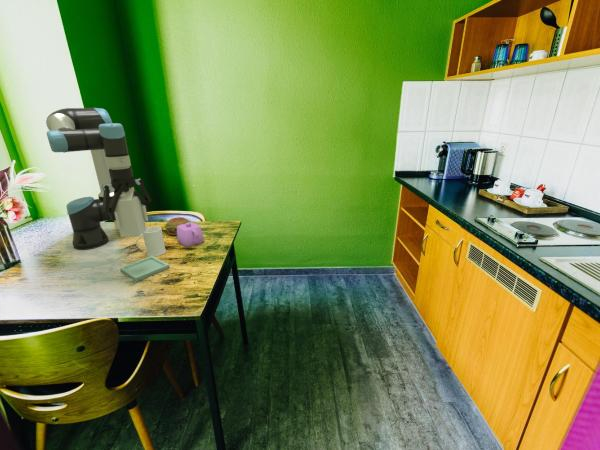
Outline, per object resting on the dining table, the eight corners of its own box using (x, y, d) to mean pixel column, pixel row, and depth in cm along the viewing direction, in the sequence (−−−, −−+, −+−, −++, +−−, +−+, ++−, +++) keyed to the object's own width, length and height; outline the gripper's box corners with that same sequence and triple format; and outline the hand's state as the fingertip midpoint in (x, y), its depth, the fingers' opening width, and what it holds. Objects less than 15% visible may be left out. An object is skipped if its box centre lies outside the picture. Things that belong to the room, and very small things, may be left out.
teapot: (173, 239, 159) (170, 221, 156) (192, 234, 166) (189, 216, 162) (188, 250, 147) (185, 230, 143) (208, 243, 154) (206, 224, 150)
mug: (140, 260, 137) (135, 235, 133) (137, 253, 144) (132, 230, 139) (168, 253, 144) (163, 229, 139) (163, 247, 150) (159, 224, 146)
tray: (120, 271, 128) (119, 267, 127) (153, 259, 138) (152, 255, 137) (136, 282, 119) (135, 278, 119) (169, 268, 130) (168, 264, 129)
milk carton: (128, 230, 125) (118, 185, 118) (146, 230, 125) (137, 184, 118) (120, 237, 118) (109, 190, 111) (139, 236, 119) (129, 189, 112)
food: (168, 238, 160) (166, 224, 157) (163, 230, 171) (161, 217, 169) (195, 233, 167) (193, 219, 164) (189, 226, 178) (187, 213, 175)
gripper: (89, 173, 102) (105, 235, 110) (154, 164, 118) (164, 218, 126) (81, 171, 106) (97, 230, 114) (145, 162, 122) (155, 214, 130)
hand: (132, 223), depth 120 cm, fingers closed on milk carton, 10 cm apart
